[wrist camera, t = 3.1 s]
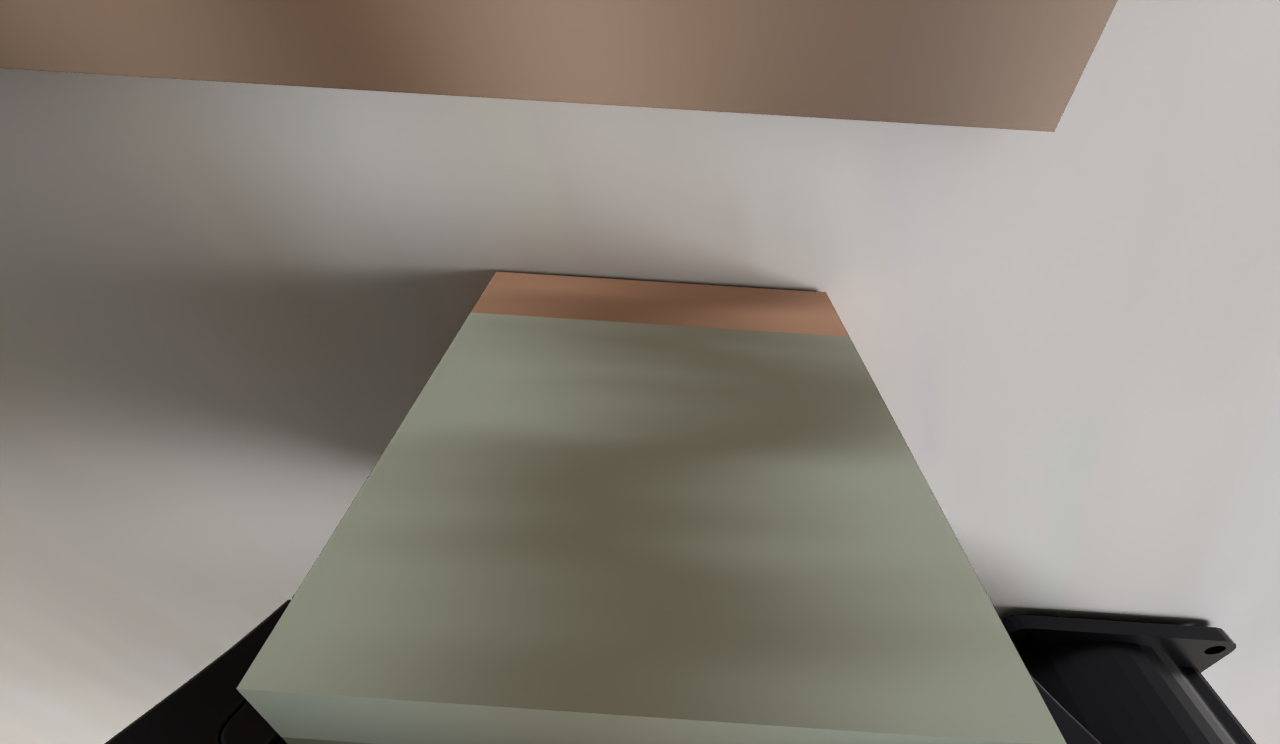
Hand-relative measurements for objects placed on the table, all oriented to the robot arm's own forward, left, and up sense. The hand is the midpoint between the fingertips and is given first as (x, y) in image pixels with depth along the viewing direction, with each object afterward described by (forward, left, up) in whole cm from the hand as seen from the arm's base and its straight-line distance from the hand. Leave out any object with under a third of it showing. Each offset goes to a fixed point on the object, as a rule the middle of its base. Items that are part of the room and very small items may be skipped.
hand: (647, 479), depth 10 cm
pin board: (+4, -14, -2) cm, 15 cm away
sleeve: (0, 0, -2) cm, 2 cm away
